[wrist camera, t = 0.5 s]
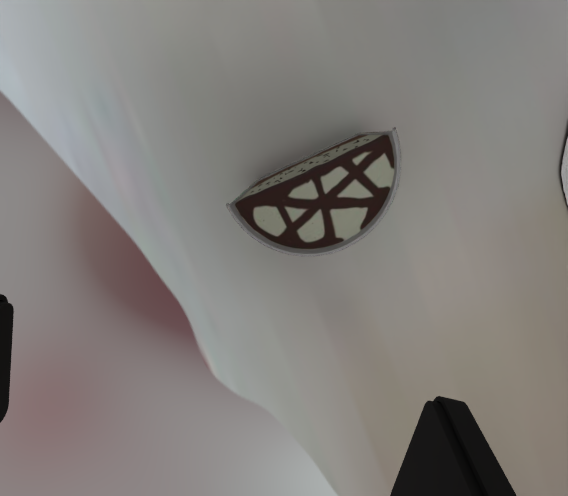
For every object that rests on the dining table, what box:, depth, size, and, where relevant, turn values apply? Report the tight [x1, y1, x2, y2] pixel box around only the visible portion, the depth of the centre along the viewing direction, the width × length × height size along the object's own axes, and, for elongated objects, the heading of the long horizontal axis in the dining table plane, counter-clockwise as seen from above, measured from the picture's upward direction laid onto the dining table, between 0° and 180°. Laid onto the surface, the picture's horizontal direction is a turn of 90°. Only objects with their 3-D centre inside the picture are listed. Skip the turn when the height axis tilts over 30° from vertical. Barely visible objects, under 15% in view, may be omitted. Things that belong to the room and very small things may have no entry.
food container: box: [226, 128, 401, 256], centre depth 33 cm, size 12×6×10 cm, turn 114°
